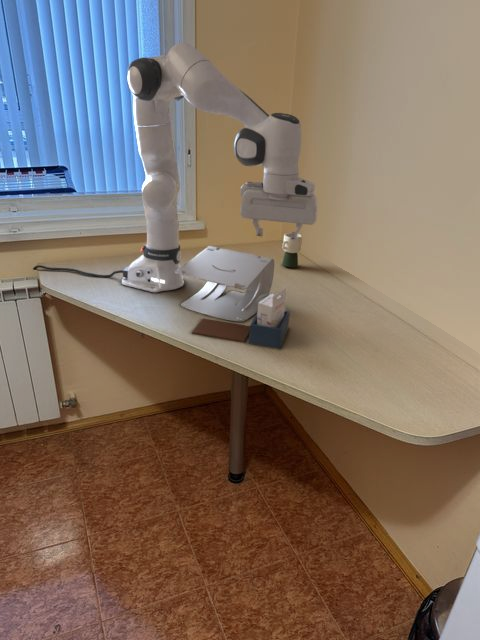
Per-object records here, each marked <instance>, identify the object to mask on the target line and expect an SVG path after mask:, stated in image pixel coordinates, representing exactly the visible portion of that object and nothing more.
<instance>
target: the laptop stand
mask: <svg viewBox="0 0 480 640" xmlns="http://www.w3.org/2000/svg"><path fill="white" fill-rule="evenodd" d="M175 273H177V274H180V275H182V276H185V277H189V278H193V279H197V280H201V281H205V282H206V283H205V284H204V286H203V287H202V288H201V289H200V290H199V291H197V293H195V294H193V295H192V296H190V297H189V298H187V299H186V300H184V301H183V302H182V303H181V307H183V308H185V309H187V310H190V311H193V312H195V313H197V314H201V315H205V316H209V317H213V318H216V319H221V320H226V321H230V322H236V323H240V322H241V323H242V322H247V320H249V319H251V317H253V316H254V315H256V314H257V312H258V303H259V302H260V301H262V300H263V299H265V298H266V297H268V296H269V295H270V293H271V289H272V286H273V281H274V274H275V259H274V258H271V257H267V256H261V255H257V254H252V253H247V252H243V251H239V250H233V249H229V248H224V247H222V248H221V247H218V246H214V245H208V246H207V247H206V248H204V249H203V250H202V251H200V252H199V253H197V255H195V256H194V257H192V258H191V259H190V260H188V261H187V262H186V263H184V264H183V265H182V266H180V268H179V269H177V270H176V271H175ZM228 287H230V288H234V289H237V290H242V291H243V290H244V291H245V290H246V291H245V293H244V292H239V291H236V290H229V291H228V292H226V293H225V294H224V292H225V291H226V289H227V288H228ZM222 294H223V295H222Z"/></svg>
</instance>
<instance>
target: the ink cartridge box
mask: <svg viewBox="0 0 480 640" xmlns="http://www.w3.org/2000/svg"><path fill="white" fill-rule="evenodd" d="M286 302H287V288H286V287H284V288H282V289H281V290H280V291H278V292H276V293H275V294H274V293H271V294H269V296H268V297H266V298H265V299H263V300H262V301H260V302H259V303H258V313H256V314H257V325H262V326H268V327H274V328H280V326H281V324H282V322H283V320H284V313H285V311H286Z"/></svg>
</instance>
